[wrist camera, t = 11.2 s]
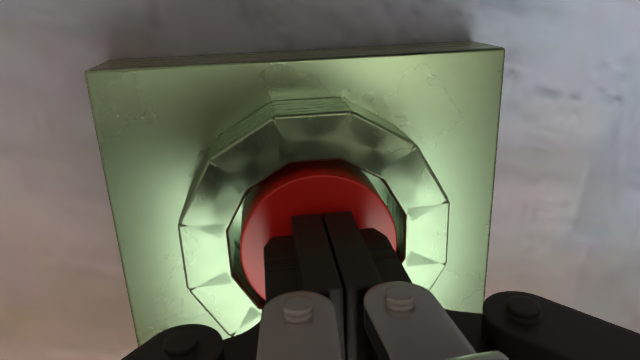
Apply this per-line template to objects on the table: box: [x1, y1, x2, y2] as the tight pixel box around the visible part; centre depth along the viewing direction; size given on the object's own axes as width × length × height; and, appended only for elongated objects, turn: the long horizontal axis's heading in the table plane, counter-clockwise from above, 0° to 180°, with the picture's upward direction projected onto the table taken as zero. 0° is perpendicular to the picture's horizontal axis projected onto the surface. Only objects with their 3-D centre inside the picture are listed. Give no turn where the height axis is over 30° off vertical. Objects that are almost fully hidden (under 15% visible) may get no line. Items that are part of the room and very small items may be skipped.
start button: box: [240, 160, 397, 301], centre depth 14 cm, size 4×4×2 cm
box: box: [85, 41, 505, 347], centre depth 15 cm, size 11×9×4 cm
